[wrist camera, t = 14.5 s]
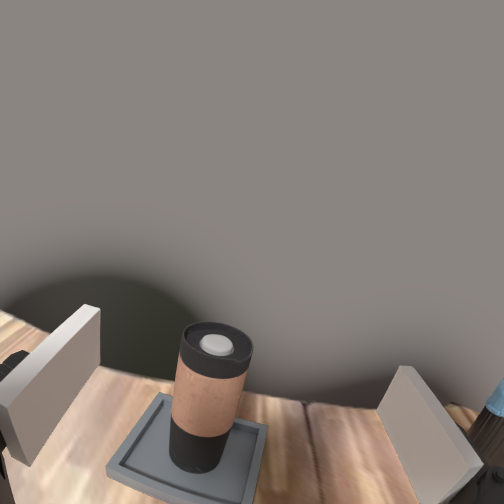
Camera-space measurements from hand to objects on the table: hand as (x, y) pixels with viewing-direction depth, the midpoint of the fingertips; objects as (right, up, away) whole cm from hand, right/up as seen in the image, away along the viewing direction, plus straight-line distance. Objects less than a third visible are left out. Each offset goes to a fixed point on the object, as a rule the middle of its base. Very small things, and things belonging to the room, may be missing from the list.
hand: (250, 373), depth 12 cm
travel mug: (-8, -23, +24) cm, 34 cm away
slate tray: (-8, -24, +24) cm, 35 cm away
